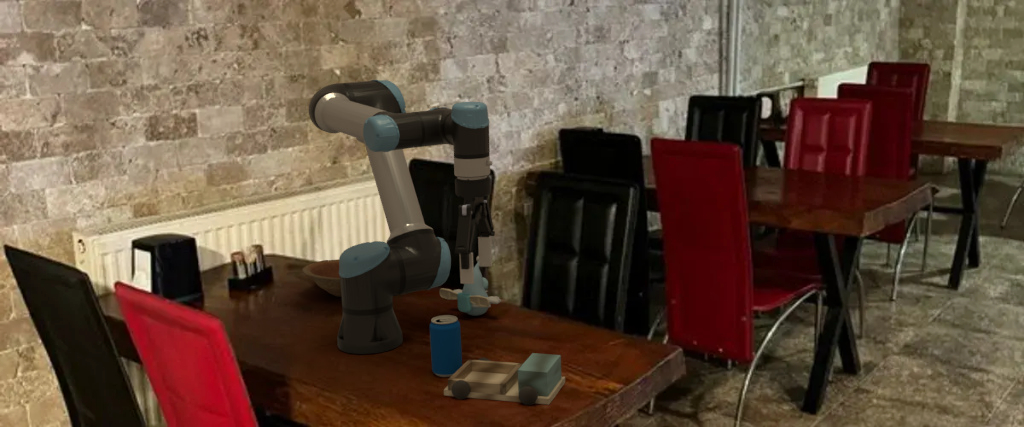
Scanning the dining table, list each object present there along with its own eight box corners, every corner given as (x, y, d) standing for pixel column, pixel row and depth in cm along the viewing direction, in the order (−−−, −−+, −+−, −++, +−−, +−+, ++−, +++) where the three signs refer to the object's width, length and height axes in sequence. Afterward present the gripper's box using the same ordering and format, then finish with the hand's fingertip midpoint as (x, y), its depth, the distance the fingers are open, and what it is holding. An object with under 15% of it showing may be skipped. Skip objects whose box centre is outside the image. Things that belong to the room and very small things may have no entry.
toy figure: (515, 314, 251) (512, 257, 248) (487, 325, 243) (484, 266, 240) (466, 304, 262) (463, 249, 259) (438, 314, 254) (435, 257, 251)
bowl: (385, 304, 265) (383, 275, 263) (296, 307, 265) (293, 278, 264) (396, 280, 288) (394, 253, 286) (314, 283, 289) (312, 256, 287)
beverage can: (432, 368, 216) (429, 315, 213) (462, 366, 216) (459, 313, 214) (432, 379, 209) (429, 324, 207) (463, 377, 210) (460, 322, 207)
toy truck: (441, 397, 199) (440, 368, 198) (467, 372, 213) (465, 344, 211) (547, 407, 192) (546, 376, 191) (566, 380, 206) (565, 351, 205)
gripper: (472, 188, 196) (476, 291, 200) (505, 166, 219) (508, 259, 224) (436, 187, 198) (441, 290, 202) (472, 166, 221) (476, 258, 226)
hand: (476, 274), depth 213 cm, fingers open, 13 cm apart
